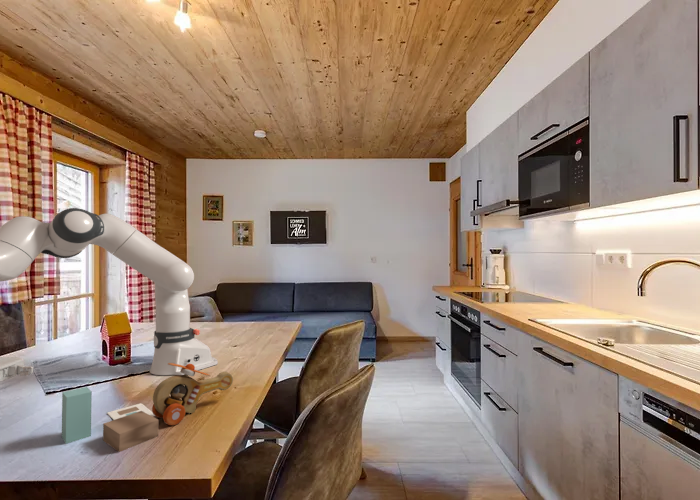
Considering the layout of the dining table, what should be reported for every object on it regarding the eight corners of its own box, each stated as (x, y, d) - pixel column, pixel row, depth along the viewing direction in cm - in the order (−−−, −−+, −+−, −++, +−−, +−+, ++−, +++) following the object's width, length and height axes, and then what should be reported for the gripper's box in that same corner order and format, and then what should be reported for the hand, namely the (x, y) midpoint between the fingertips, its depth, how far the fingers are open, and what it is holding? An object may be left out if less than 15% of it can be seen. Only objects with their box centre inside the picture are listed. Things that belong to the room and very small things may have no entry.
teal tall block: (85, 429, 83) (86, 386, 83) (90, 436, 80) (91, 391, 80) (61, 436, 80) (62, 392, 80) (65, 443, 77) (66, 397, 77)
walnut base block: (141, 427, 85) (141, 410, 85) (158, 437, 80) (158, 419, 80) (102, 441, 78) (103, 423, 78) (119, 453, 74) (119, 434, 74)
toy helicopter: (146, 420, 88) (147, 364, 88) (223, 395, 104) (223, 348, 104) (160, 430, 83) (161, 371, 83) (239, 402, 99) (239, 353, 99)
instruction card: (141, 403, 97) (141, 402, 97) (156, 416, 90) (156, 415, 90) (107, 413, 92) (107, 412, 92) (120, 427, 84) (120, 426, 84)
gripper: (-113, 381, 66) (-28, 379, 68) (-16, 352, 86) (47, 351, 88) (-114, 415, 66) (-29, 412, 68) (-17, 378, 86) (46, 377, 88)
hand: (14, 377), depth 78 cm, fingers open, 8 cm apart
